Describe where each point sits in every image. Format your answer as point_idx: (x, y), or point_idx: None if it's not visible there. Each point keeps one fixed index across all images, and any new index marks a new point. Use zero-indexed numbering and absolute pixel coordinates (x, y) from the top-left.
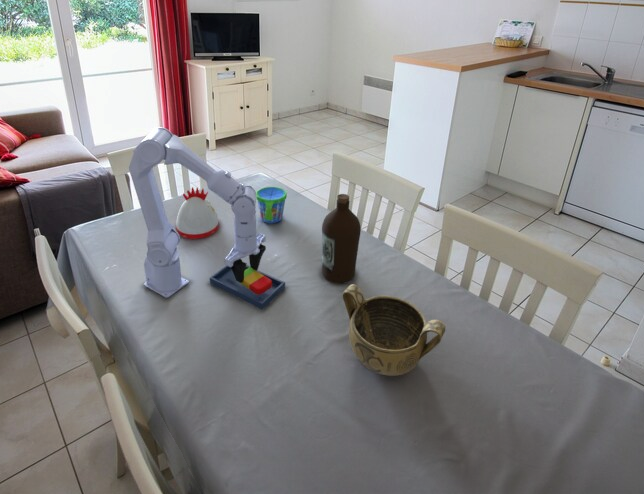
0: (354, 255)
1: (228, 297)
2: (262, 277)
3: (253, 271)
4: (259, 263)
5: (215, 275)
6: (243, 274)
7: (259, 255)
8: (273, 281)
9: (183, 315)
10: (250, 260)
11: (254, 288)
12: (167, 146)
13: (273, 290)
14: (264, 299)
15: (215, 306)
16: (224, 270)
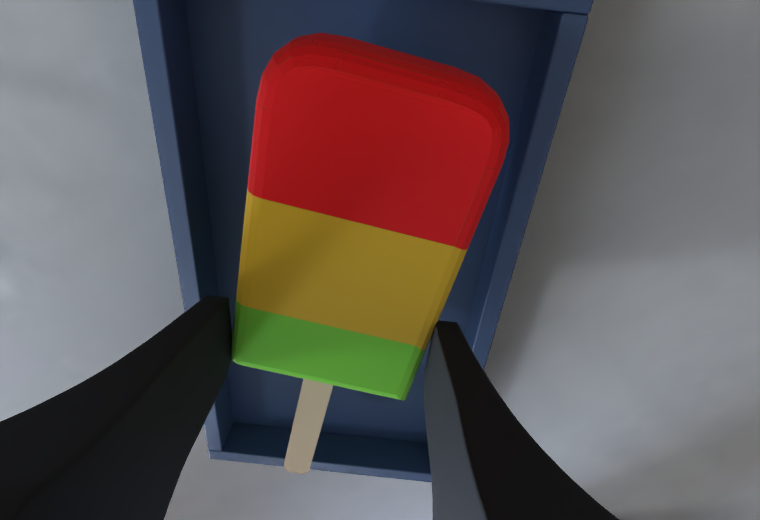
0: None
1: (518, 310)
2: (291, 192)
3: (266, 314)
4: (160, 331)
5: (411, 470)
6: (465, 385)
7: (103, 440)
8: (187, 93)
9: (754, 428)
10: (198, 422)
11: (497, 175)
12: None
13: (281, 28)
14: (519, 2)
15: (633, 333)
16: (326, 449)
